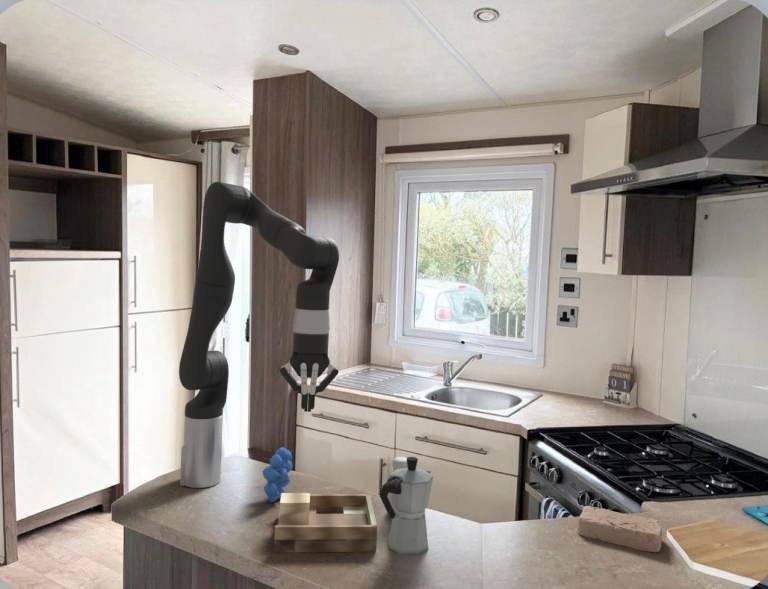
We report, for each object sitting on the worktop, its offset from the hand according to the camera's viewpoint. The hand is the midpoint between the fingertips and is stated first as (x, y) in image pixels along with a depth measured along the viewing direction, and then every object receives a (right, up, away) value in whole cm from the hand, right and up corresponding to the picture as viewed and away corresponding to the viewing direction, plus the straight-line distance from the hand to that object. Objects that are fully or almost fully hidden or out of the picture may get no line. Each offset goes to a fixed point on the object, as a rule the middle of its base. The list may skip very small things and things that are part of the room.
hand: (307, 410), depth 119 cm
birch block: (-2, -23, -2) cm, 23 cm away
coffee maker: (+20, -27, -6) cm, 34 cm away
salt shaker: (+20, -26, +9) cm, 34 cm away
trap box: (+4, -25, -2) cm, 26 cm away
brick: (+68, -29, +3) cm, 74 cm away
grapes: (-10, -24, +15) cm, 30 cm away
